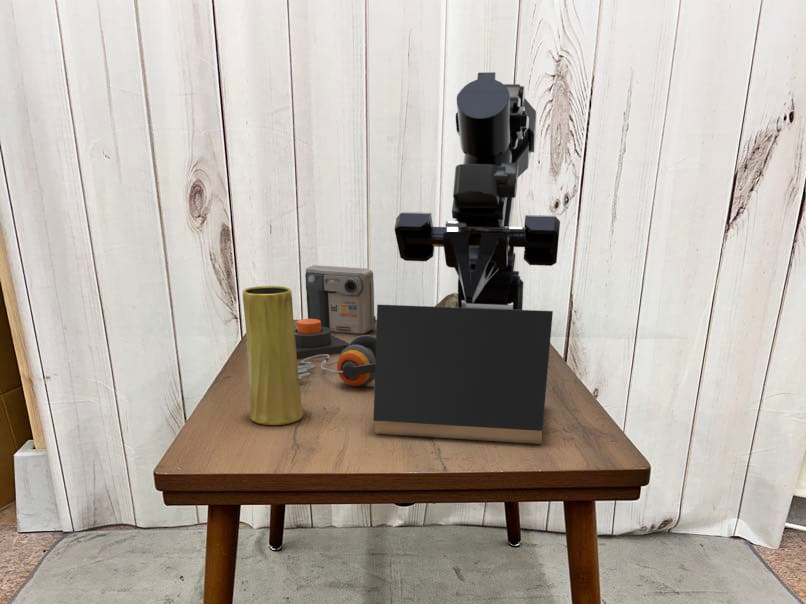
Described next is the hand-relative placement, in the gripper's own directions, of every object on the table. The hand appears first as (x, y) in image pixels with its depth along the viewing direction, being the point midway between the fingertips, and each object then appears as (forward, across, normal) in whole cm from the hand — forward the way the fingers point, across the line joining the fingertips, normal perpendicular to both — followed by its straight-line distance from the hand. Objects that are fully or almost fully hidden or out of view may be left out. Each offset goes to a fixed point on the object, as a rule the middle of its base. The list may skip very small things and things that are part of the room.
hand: (469, 301), depth 88 cm
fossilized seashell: (-19, -7, +38) cm, 43 cm away
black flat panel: (+11, +1, -4) cm, 11 cm away
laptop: (+13, 0, +5) cm, 14 cm away
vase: (+15, -21, +3) cm, 26 cm away
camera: (-17, -25, +35) cm, 46 cm away
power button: (-9, -26, +23) cm, 36 cm away
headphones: (+3, -16, +15) cm, 22 cm away
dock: (-7, -26, +25) cm, 37 cm away
